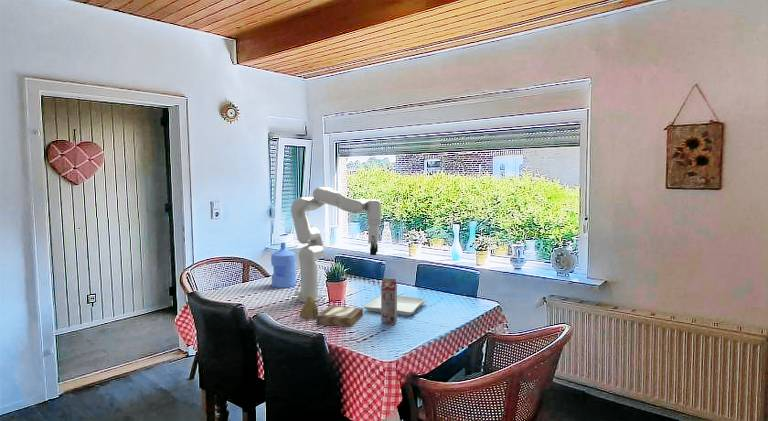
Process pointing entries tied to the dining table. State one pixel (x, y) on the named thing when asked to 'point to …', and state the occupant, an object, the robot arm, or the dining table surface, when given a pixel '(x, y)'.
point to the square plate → (403, 305)
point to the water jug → (283, 268)
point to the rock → (309, 309)
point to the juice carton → (388, 301)
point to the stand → (339, 316)
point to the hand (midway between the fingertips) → (373, 253)
